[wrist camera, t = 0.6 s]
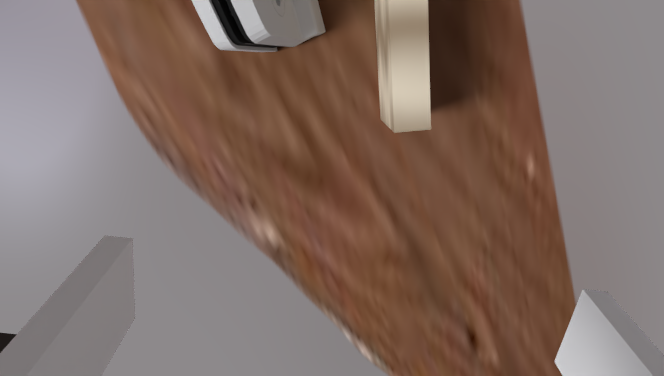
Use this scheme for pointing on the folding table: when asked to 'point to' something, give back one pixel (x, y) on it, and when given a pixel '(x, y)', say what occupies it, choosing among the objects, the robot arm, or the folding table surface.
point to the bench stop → (403, 64)
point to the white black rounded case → (260, 23)
